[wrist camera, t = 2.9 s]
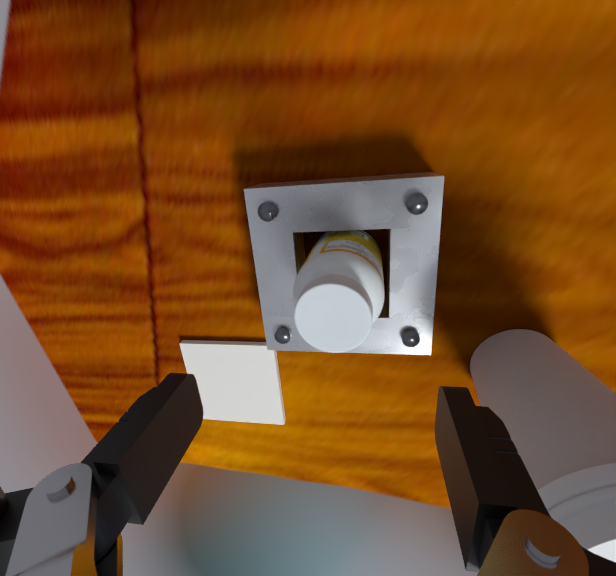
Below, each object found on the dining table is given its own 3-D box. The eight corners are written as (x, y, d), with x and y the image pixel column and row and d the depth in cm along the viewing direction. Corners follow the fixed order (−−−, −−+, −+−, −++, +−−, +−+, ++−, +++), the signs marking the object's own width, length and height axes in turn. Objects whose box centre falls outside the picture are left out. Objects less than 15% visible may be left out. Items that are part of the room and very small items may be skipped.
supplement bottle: (358, 210, 24) (351, 248, 15) (394, 271, 25) (408, 338, 16) (297, 249, 26) (260, 301, 17) (334, 303, 27) (318, 378, 18)
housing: (433, 171, 22) (445, 176, 18) (423, 330, 26) (431, 358, 23) (260, 183, 24) (241, 189, 21) (278, 327, 29) (265, 353, 25)
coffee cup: (537, 425, 28) (695, 687, 14) (429, 388, 28) (484, 609, 15) (612, 335, 24) (928, 582, 10) (486, 293, 24) (632, 477, 11)
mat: (275, 342, 29) (273, 345, 29) (285, 420, 33) (284, 424, 32) (182, 339, 31) (179, 343, 30) (201, 414, 34) (199, 418, 34)
